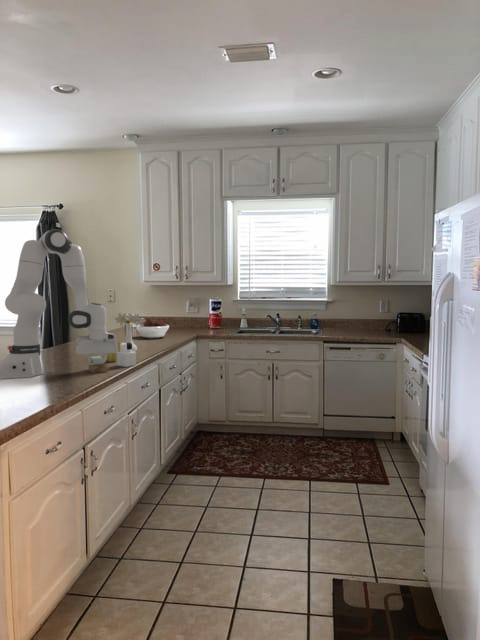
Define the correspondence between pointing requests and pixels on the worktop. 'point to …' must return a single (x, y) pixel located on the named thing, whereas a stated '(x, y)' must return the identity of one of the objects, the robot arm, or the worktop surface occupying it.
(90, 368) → the block
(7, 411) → the worktop surface
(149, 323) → the white bowl
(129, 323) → the flower vase
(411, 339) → the worktop surface
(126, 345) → the medicine bottle
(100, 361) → the cube
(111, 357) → the plant pot
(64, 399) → the worktop surface
